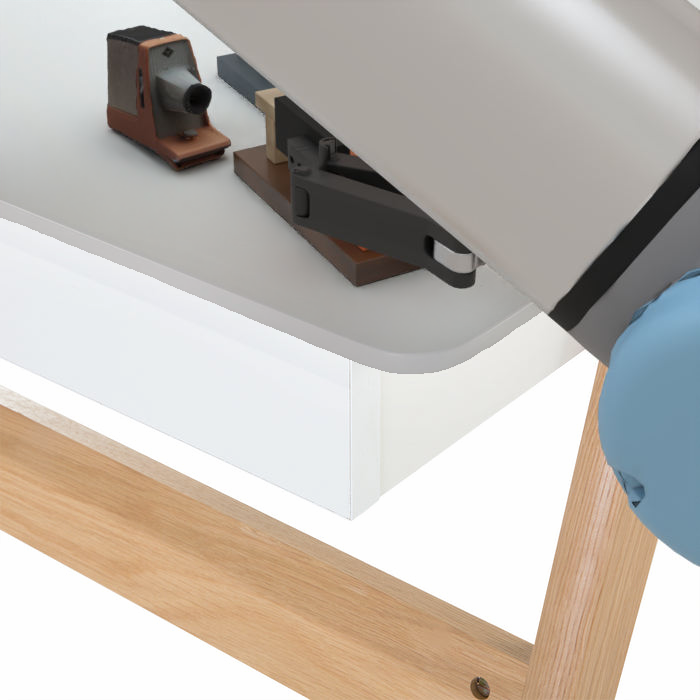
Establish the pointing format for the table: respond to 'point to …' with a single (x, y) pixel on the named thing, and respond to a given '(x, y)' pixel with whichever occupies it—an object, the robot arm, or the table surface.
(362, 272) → the blocks on brown board
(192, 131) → the electronic device
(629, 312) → the robot arm
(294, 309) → the table surface
